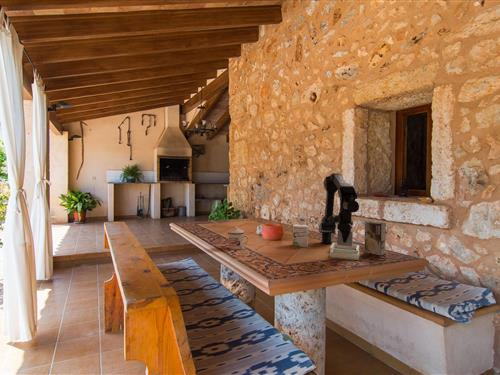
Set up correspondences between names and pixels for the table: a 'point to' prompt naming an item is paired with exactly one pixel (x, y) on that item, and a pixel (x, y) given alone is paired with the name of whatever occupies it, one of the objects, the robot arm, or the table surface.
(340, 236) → the grey block
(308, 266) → the table surface
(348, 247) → the bay
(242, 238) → the teacup with lid
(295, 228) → the ink box
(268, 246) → the table surface
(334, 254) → the tray
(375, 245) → the coffee box
